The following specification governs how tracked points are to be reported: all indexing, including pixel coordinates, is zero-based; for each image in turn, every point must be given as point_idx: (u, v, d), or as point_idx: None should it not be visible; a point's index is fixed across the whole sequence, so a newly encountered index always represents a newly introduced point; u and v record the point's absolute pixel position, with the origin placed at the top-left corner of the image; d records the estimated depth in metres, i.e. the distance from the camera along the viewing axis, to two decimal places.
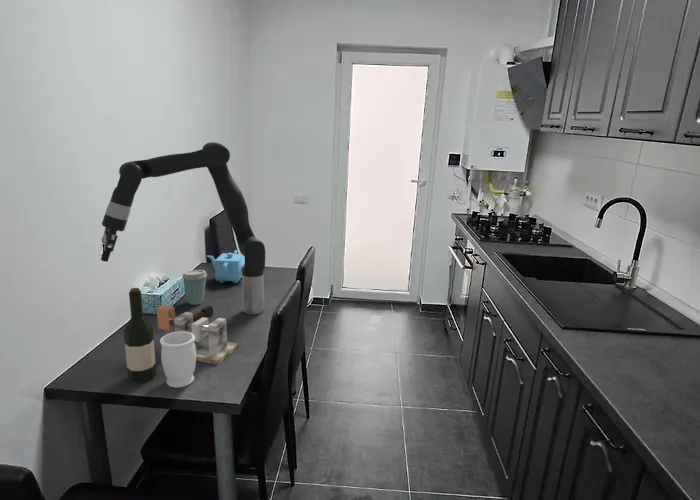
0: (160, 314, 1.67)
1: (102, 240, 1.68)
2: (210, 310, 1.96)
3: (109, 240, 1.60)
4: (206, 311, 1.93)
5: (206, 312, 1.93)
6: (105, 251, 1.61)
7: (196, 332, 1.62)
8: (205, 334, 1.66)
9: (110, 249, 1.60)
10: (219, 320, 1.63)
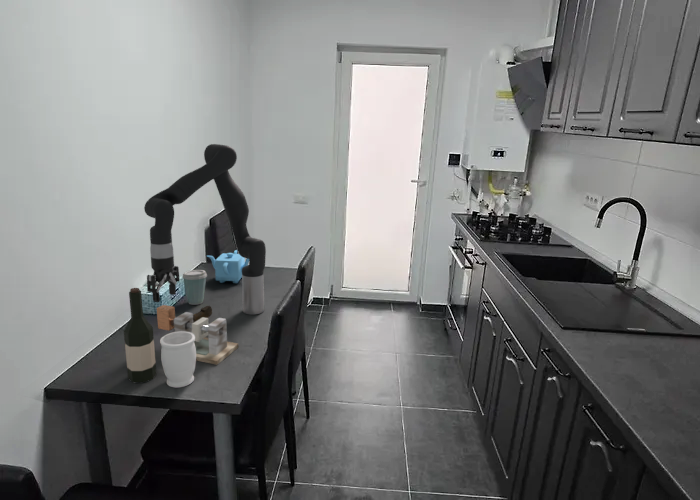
0: (160, 314, 1.67)
1: None
2: (209, 310, 1.96)
3: (148, 281, 1.58)
4: (205, 311, 1.94)
5: (205, 312, 1.94)
6: (152, 292, 1.61)
7: (196, 332, 1.62)
8: (205, 334, 1.66)
9: (151, 290, 1.58)
10: (219, 320, 1.63)
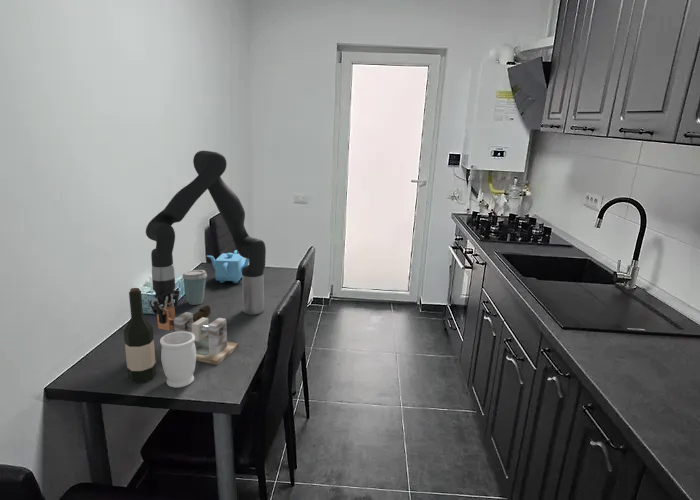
0: None
1: None
2: (208, 309, 1.96)
3: (151, 307, 1.62)
4: (204, 311, 1.94)
5: (204, 312, 1.94)
6: (158, 314, 1.65)
7: (196, 332, 1.62)
8: (205, 334, 1.66)
9: (157, 313, 1.63)
10: (219, 320, 1.63)
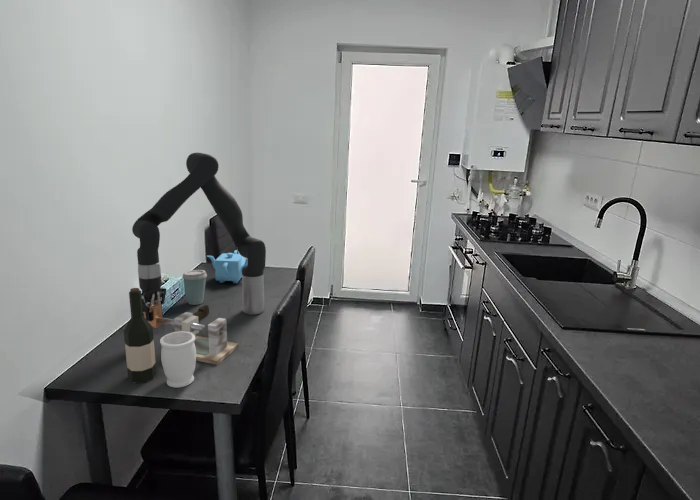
0: None
1: None
2: (207, 309, 1.97)
3: None
4: (203, 310, 1.94)
5: (203, 311, 1.94)
6: (145, 312, 1.67)
7: (185, 330, 1.63)
8: (195, 332, 1.67)
9: (143, 310, 1.65)
10: (219, 320, 1.63)
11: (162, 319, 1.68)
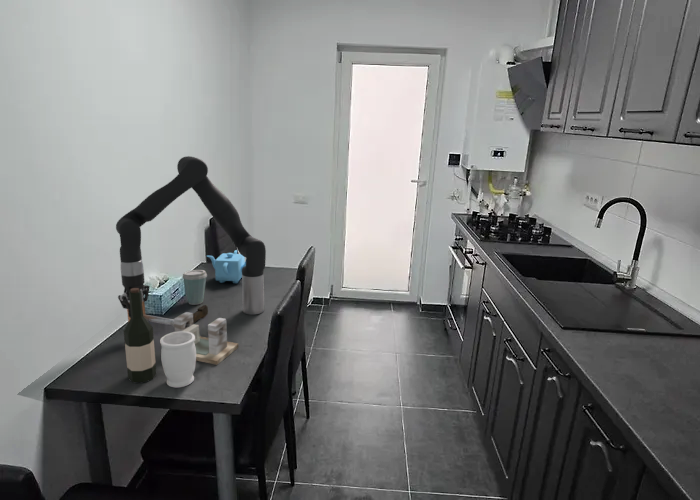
0: None
1: None
2: (206, 309, 1.97)
3: (120, 301, 1.65)
4: (203, 310, 1.94)
5: (203, 311, 1.94)
6: None
7: None
8: (195, 341, 1.68)
9: (126, 307, 1.67)
10: (219, 320, 1.63)
11: (145, 316, 1.71)
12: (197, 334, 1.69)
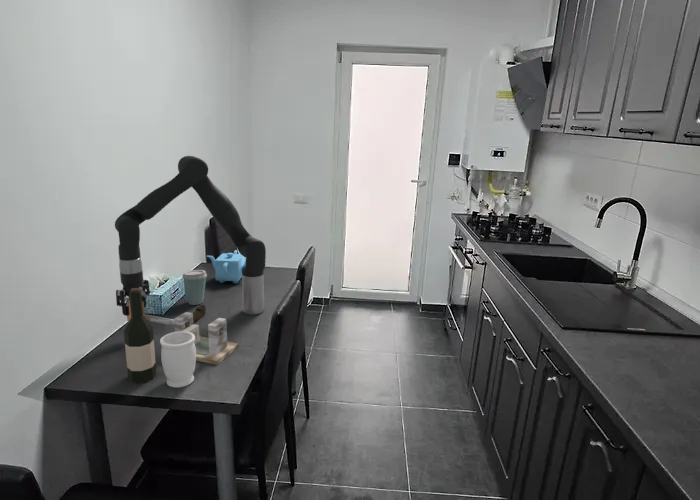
0: (130, 309, 1.70)
1: None
2: (204, 309, 1.97)
3: (117, 296, 1.64)
4: (201, 310, 1.94)
5: (201, 311, 1.94)
6: None
7: None
8: (195, 341, 1.68)
9: (120, 304, 1.64)
10: (219, 320, 1.63)
11: (144, 316, 1.71)
12: (197, 334, 1.69)
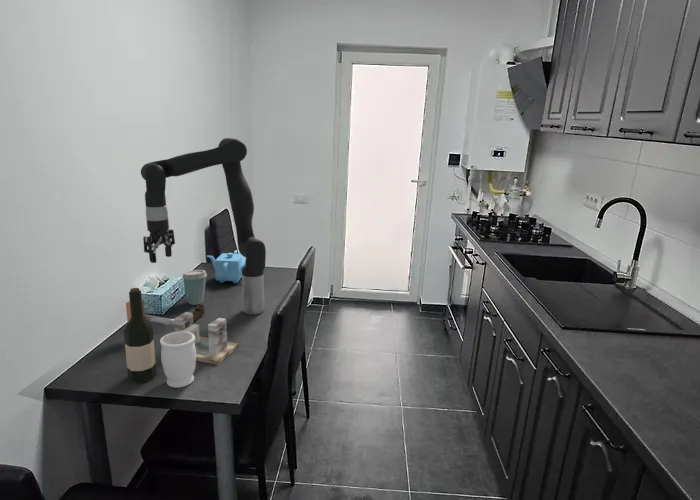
0: None
1: None
2: (203, 309, 1.97)
3: (144, 243, 1.67)
4: (200, 310, 1.95)
5: (200, 311, 1.95)
6: None
7: None
8: (195, 341, 1.68)
9: (147, 251, 1.67)
10: (219, 320, 1.63)
11: (144, 316, 1.71)
12: (197, 334, 1.69)
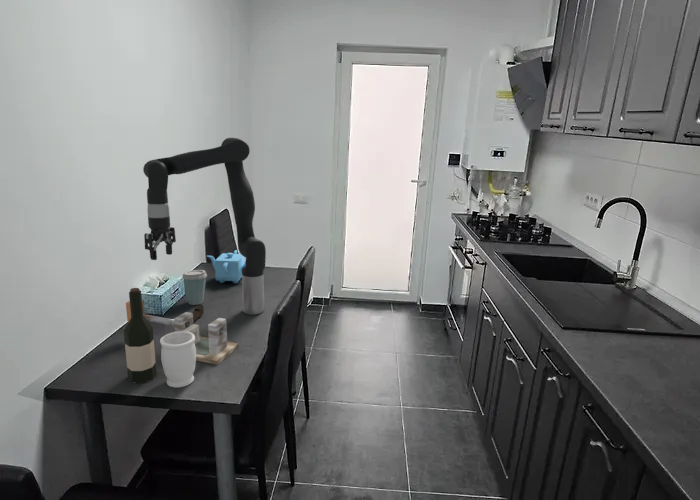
0: None
1: None
2: (202, 308, 1.97)
3: (145, 239, 1.67)
4: (200, 310, 1.95)
5: (200, 311, 1.95)
6: None
7: None
8: (195, 341, 1.68)
9: (148, 248, 1.67)
10: (219, 320, 1.63)
11: (144, 316, 1.71)
12: (197, 334, 1.69)
